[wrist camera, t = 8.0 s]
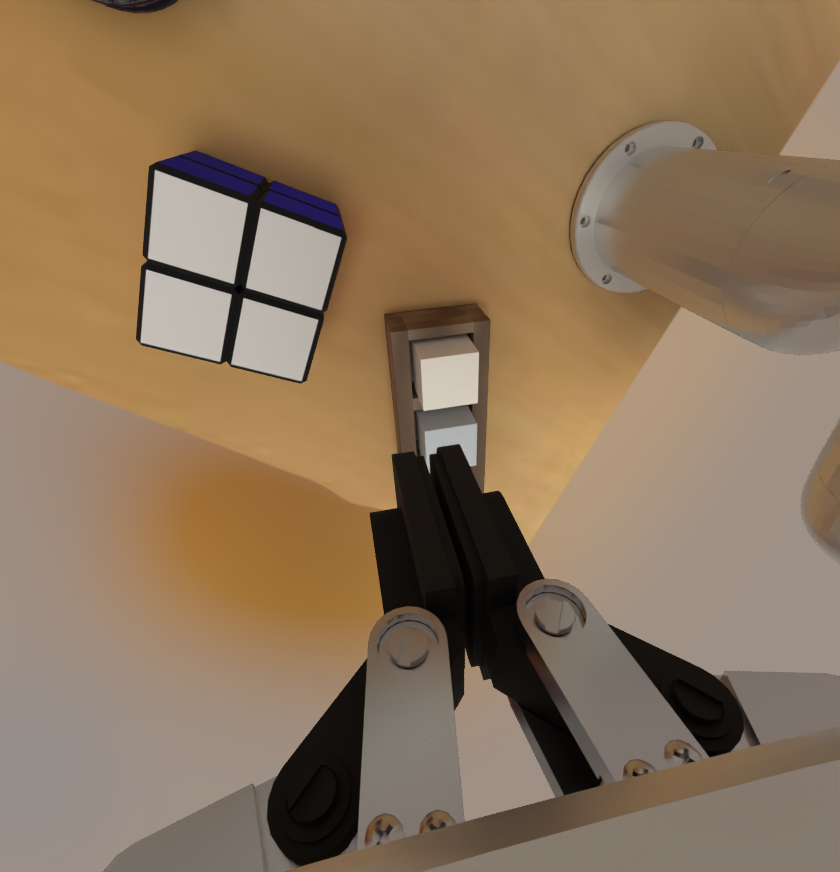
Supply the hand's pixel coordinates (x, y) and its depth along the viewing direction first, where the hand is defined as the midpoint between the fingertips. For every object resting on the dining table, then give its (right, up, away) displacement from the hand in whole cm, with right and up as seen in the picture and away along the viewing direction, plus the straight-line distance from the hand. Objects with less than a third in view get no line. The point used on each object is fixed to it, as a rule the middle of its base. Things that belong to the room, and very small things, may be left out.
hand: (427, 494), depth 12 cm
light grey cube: (+2, +3, +31) cm, 31 cm away
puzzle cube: (-12, +15, +23) cm, 30 cm away
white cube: (+1, +8, +27) cm, 29 cm away
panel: (+1, +4, +33) cm, 34 cm away
